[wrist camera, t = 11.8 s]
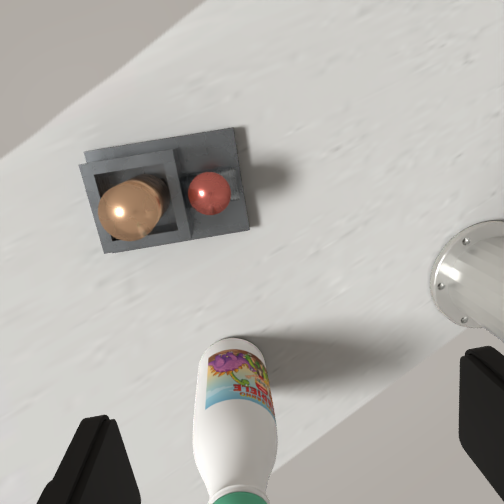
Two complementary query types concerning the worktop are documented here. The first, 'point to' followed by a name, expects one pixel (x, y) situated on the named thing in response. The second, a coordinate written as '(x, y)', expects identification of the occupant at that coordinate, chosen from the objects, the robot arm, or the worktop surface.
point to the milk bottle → (234, 423)
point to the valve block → (174, 186)
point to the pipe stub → (133, 207)
